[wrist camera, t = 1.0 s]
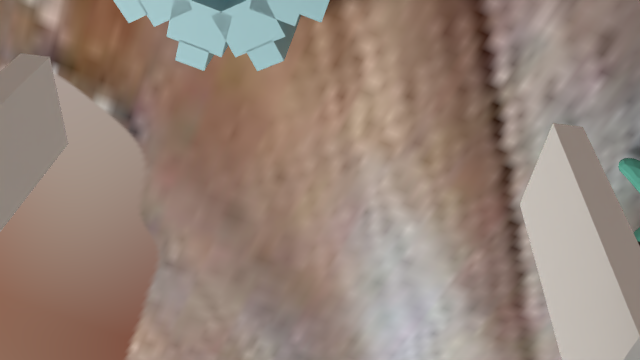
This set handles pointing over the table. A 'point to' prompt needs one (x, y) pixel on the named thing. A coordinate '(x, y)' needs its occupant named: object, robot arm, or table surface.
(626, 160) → the toy
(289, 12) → the teal gear
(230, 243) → the table surface
